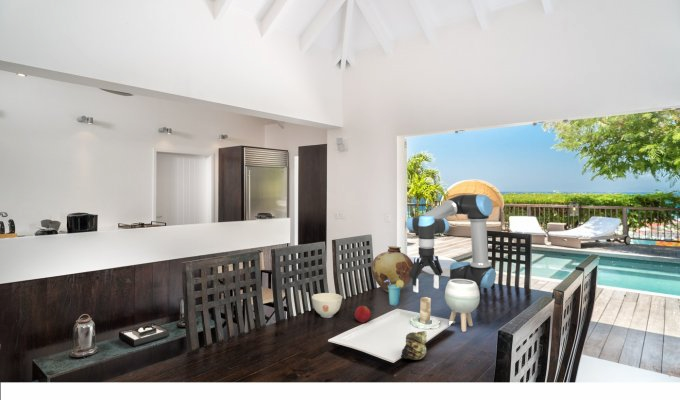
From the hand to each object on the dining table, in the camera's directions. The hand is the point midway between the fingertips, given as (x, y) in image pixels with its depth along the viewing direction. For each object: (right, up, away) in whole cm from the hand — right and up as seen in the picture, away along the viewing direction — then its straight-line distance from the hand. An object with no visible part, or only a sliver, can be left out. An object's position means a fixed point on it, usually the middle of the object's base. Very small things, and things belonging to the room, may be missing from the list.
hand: (426, 290), depth 193 cm
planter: (+16, -18, -4) cm, 24 cm away
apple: (-31, -17, +2) cm, 36 cm away
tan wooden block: (-1, -16, 0) cm, 16 cm away
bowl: (-49, -16, +11) cm, 53 cm away
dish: (-1, -17, 0) cm, 17 cm away
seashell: (-14, -18, -40) cm, 46 cm away
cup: (-12, -17, +34) cm, 40 cm away
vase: (-9, -16, +62) cm, 64 cm away
